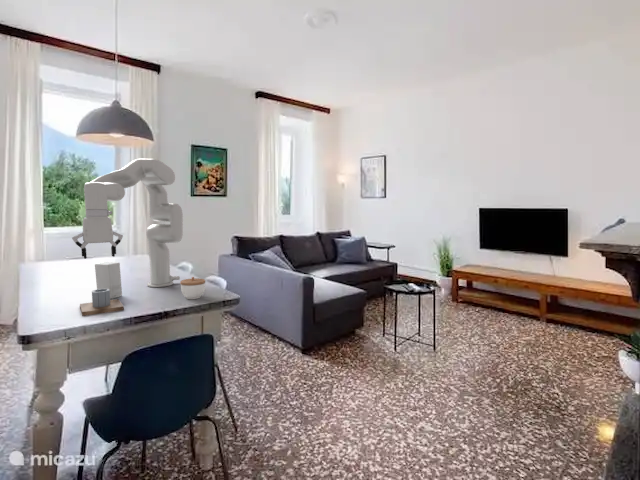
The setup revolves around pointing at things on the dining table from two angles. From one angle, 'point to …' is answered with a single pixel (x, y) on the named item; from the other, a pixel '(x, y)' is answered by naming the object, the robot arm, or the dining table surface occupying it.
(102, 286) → the skincare box
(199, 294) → the lidded jar
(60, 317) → the dining table surface
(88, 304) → the roll stand
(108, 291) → the roll
